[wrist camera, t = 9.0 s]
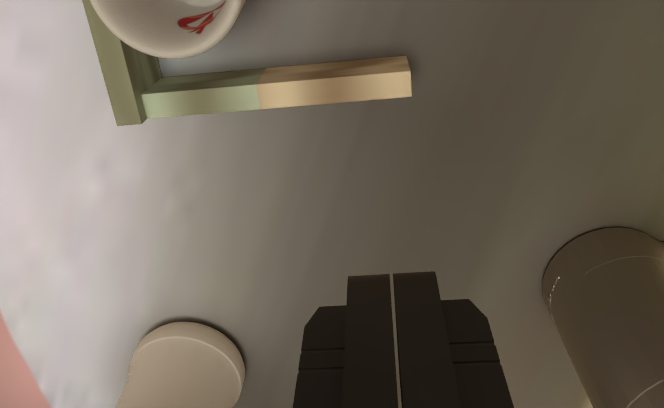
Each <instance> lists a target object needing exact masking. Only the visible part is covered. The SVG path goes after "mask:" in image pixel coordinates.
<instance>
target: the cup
mask: <svg viewBox="0 0 664 408" xmlns="http://www.w3.org/2000/svg"><path fill="white" fill-rule="evenodd" d="M90 2H91V4H92V6H93V8H94V10H95V11H96V13H97V15H98V16H99V18H100V19H101V20H102V22H103V23H104V24H105V25H106V26H107V28H108V29H109V30H110V31H111V32H112V33H113V34H114V35H116V36H117V37H118V38H119V39H120V40H122V41H123V42H124V43H126V44H128V45H129V46H131V47H132V48H134V49H136V50H138V51H140V52H143V53H145V54H148V55H151V56H155V57H160V58H169V59H177V58H186V57H191V56H195V55H198V54H200V53H203V52H205V51H207V50H208V49H210V48H212V47H213V46H215V45H216V44H217V43H219V42H220V41H221V40H222V39H223V38H224V37H225V36H226V35H227V34H228V32H229V31H230V30H231V28H232V27H233V25H234V24H235V22H236V20H237V18H238V16H239V14H240V12H241V10H242V8H243V6H244V4H245V2H246V0H90Z"/></svg>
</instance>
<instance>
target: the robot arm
mask: <svg viewBox="0 0 664 408" xmlns="http://www.w3.org/2000/svg"><path fill="white" fill-rule="evenodd" d="M393 281H394V297H395V313H396V329H397V344H398V360H399V374H400V388H401V401H402V408H514V406H513V403H512V400H511V396H510V393H509V390H508V386H507V383H506V379H505V376H504V373H503V369H502V366H501V365H500V359H499V356H498V353H497V349H496V346H495V345H494V339H493V336H492V333H491V329H490V326H489V323H488V319H487V317H486V316H485V315H484V314H483V313H482V312H481V311H480V310H479V309H478V308H477V307H476V306H475V305H474V304H473V303H472V302H471V301H470V300H469V299H461V300H441V299H440V294H439V289H438V284H437V278H436V274H435V271H434V272H415V273H397V274H393ZM542 291H543V297H544V300H545V303H546V306H547V308H548V310H549V312H550V316H551V318H552V320H553V322H554V324H555V325H556V327H557V330H558V332H559V334H560V336H561V339H562V341H563V343H564V345H565V347H566V350H567V352H568V354H569V356H570V358H571V360H572V363H573V365H574V367H575V369H576V371H577V373H578V376H579V378H580V380H581V382H582V384H583V386H584V389H585V391H586V393H587V395H588V397H589V399H590V402H591V404H592V406H593V408H664V242H659V241H657V240H655V239H654V238H652V237H651V236H649V235H648V234H646V233H643V232H640V231H638V230H635V229H629V228H621V227H617V228H604V229H600V230H595V231H591V232H589V233H587V234H584V235H582V236H579V237H577V238H576V239H574V240H573V241H571V242H569V243H568V244H566V245H565V246H564V247H563V248H562V249H561V250H560V251H559V252H557V254H556V255H555V256H554V258H553V259H552V260H551V261H550V263H549V265H548V267H547V269H546V271H545V273H544V278H543V283H542ZM293 408H398V397H397V382H396V367H395V352H394V337H393V321H392V306H391V291H390V276H389V274H382V275H364V276H348V286H347V305H345V306H325V307H319V308H318V309H317V311H316V312H315V313H314V315H313V316H312V317H311V319H310V320H309V321H308V323H307V324H306V326H305V328H304V334H303V341H302V348H301V355H300V362H299V374H298V375H297V382H296V389H295V396H294V403H293Z"/></svg>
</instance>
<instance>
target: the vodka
mask: <svg viewBox="0 0 664 408" xmlns="http://www.w3.org/2000/svg"><path fill="white" fill-rule="evenodd" d="M244 380H245V367H244V363H243V360H242V357H241V354H240V352H239V351H238V349H237V347H236V346H235V345H234V344H233V342H232V341H231V340H230V339H229V338H228V337H226V336H225V335H224V334H222V333H221V332H219V331H217V330H215V329H213V328H211V327H209V326H206V325H203V324H199V323H193V322H174V323H169V324H166V325H163V326H161V327H159V328H157V329H155V330H153V331H152V332H150V333H149V334H147V335H146V336H145V337H144V338H143V339H142V340H141V341H140V343H139V345H138V347H137V349H136V351H135V353H134V355H133V357H132V359H131V362H130V366H129V375H128V378H127V382H126V385H125V388H124V390H123V392H122V394H121V397H120V399H119V401H118V404H117V406H116V408H233V406H234V405H235V404H236V402H237V401H238V399H239V396H240V393H241V390H242V387H243V384H244Z"/></svg>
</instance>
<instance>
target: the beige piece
mask: <svg viewBox="0 0 664 408" xmlns="http://www.w3.org/2000/svg"><path fill="white" fill-rule="evenodd" d="M82 1H83V5H84V8H85V12H86V15H87V19H88V23H89V26H90V30H91V33H92V37H93V41H94V44H95V48H96V51H97V55H98V58H99V62H100V66H101V69H102V73H103V76H104V80H105V84H106V87H107V91H108V94H109V98H110V102H111V105H112V109H113V112H114V116H115V119H116V123H117V126H123V125H135V124H142V123H143V122H144V121H145V120H146V119H148V118H160V117H172V116H184V115H196V114H208V113H220V112H232V111H244V110H256V109H268V108H280V107H292V106H304V105H316V104H328V103H340V102H352V101H364V100H376V99H388V98H400V97H412V94H411V71H410V67H409V64H408V60H407V57H406V56H395V57H384V58H373V59H362V60H351V61H339V62H328V63H317V64H306V65H295V66H284V67H273V68H261V69H250V70H239V71H228V72H217V73H206V74H194V75H183V76H172V77H162V75H161V71H160V67H159V63H158V58H157V57H155V56H151V55H148V54H145V53H143V52H140V51H138V50H136V49H134V48H132V47H131V46H129V45H128V44H126V43H124V42H123V41H122V40H120V39H119V38H118V37H117V36H116V35H114V34H113V33H112V32H111V31H110V30H109V29H108V28H107V26H106V25H105V24H104V23H103V22H102V20H101V19H100V18H99V16H98V15H97V13H96V11H95V10H94V8H93V6H92V4H91V2H90V0H82Z"/></svg>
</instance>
